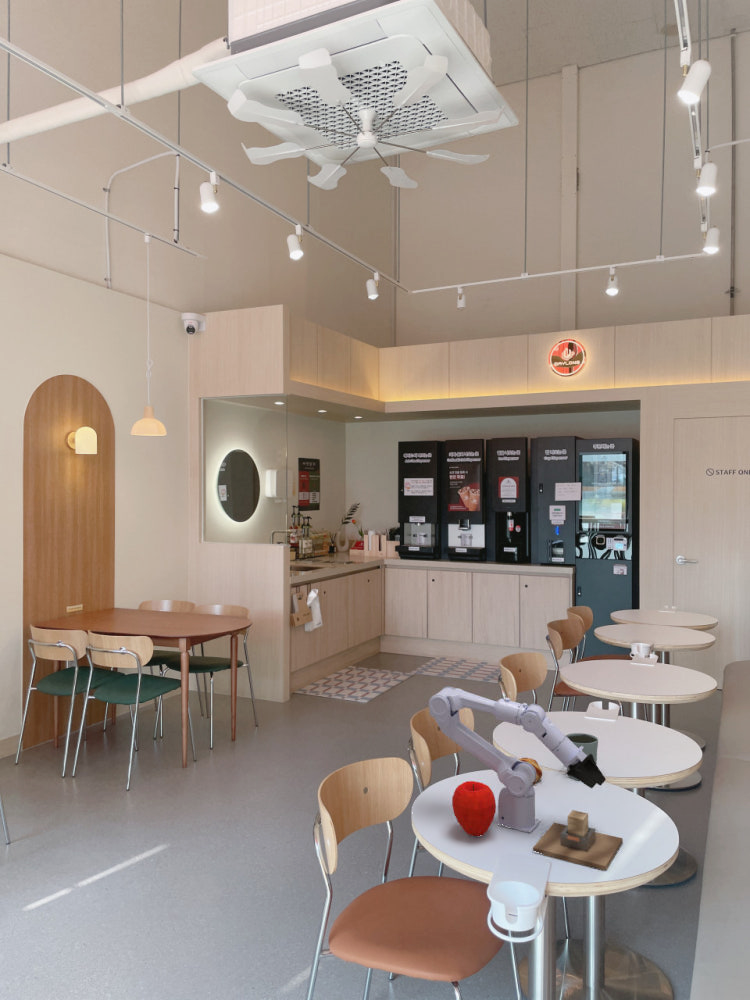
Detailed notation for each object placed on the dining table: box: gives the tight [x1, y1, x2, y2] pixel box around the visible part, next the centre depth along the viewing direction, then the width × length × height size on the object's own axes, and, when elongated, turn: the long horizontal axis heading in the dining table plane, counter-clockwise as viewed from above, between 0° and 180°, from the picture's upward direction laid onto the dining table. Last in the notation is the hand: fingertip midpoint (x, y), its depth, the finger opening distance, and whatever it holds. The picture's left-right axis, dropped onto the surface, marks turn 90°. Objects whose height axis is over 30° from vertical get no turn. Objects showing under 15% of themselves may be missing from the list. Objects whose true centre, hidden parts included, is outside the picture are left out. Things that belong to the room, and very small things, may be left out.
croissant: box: [518, 757, 543, 785], centre depth 234 cm, size 21×10×8 cm, turn 154°
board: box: [532, 822, 624, 872], centre depth 190 cm, size 18×16×1 cm
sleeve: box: [561, 824, 596, 852], centre depth 190 cm, size 7×7×3 cm
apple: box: [451, 780, 497, 837], centre depth 199 cm, size 12×12×13 cm
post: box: [567, 809, 589, 837], centre depth 190 cm, size 4×4×7 cm
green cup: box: [565, 732, 599, 782], centre depth 236 cm, size 10×10×12 cm
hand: (598, 784), depth 194 cm, fingers open, 7 cm apart
